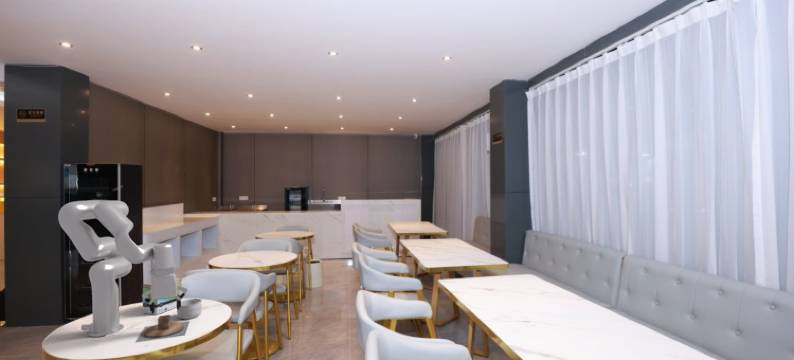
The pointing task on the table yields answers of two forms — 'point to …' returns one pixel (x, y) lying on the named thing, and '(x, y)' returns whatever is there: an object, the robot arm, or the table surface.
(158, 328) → the walnut lid
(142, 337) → the slate mat
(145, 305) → the tea box
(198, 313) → the teacup
